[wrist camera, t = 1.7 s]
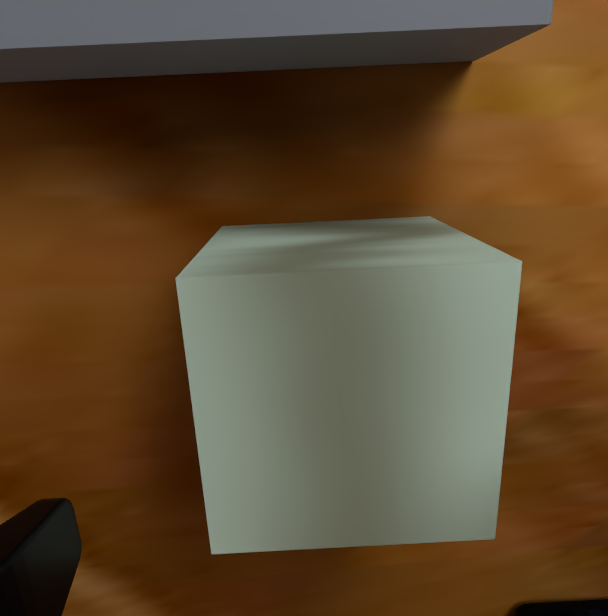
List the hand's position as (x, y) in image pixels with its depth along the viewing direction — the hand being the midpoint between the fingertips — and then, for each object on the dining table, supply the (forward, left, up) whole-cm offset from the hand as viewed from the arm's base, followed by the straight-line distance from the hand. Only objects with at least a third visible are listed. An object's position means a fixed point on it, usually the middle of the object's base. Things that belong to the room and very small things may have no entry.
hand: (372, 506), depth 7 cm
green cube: (0, 0, -8) cm, 8 cm away
